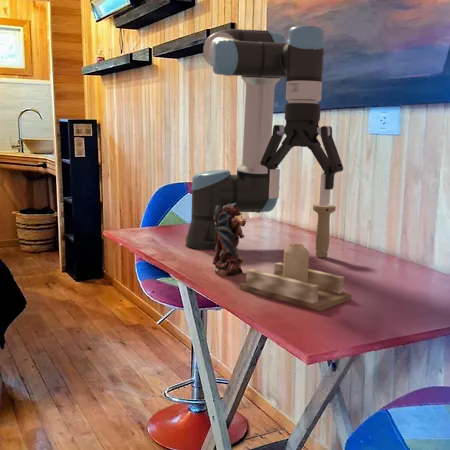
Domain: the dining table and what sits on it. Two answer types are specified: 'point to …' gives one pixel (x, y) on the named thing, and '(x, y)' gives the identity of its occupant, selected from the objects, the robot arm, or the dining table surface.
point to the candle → (296, 262)
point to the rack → (298, 288)
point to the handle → (323, 229)
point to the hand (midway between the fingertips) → (298, 201)
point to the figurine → (228, 240)
